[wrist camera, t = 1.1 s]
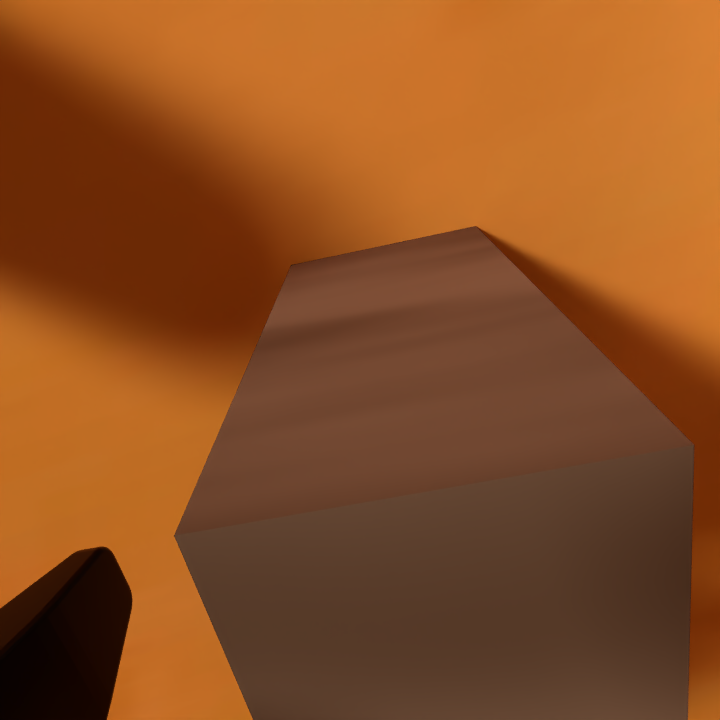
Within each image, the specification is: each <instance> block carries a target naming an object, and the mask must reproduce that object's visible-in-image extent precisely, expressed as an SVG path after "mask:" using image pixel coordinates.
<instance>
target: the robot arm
mask: <svg viewBox="0 0 720 720" xmlns="http://www.w3.org/2000/svg"><path fill="white" fill-rule="evenodd" d="M131 609H132V594H131V590H130V587H129V585H128V583H127V581H126V579H125V577H124V575H123V573H122V571H121V568H120V566H119V564H118V562H117V560H116V558H115V556H114V554H113V553H112V551H111V550H110V549H108V548H107V547H96V548H90V549H84V550H80V551H77V552H75V553H73V554H72V555H70V556H69V557H68V558H66V559H65V560H64V561H63V562H61V563H60V564H59V565H57V566H56V567H55V568H53V569H52V570H51V571H49V572H48V573H47V574H45V575H44V576H43V577H41V578H40V579H39V580H37V581H36V582H35V583H33V584H32V585H31V586H29V587H28V588H27V589H25V590H24V591H23V592H22V593H20V594H19V595H18V596H16V597H15V598H14V599H12V600H11V601H10V602H8V603H7V604H6V605H4V606H3V607H2V608H0V720H107V716H108V712H109V708H110V704H111V700H112V696H113V691H114V687H115V682H116V678H117V673H118V669H119V664H120V660H121V655H122V650H123V646H124V641H125V637H126V632H127V628H128V623H129V619H130V614H131Z"/></svg>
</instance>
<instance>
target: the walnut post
mask: <svg viewBox="0 0 720 720" xmlns="http://www.w3.org/2000/svg"><path fill="white" fill-rule="evenodd" d="M693 477H694V444H693V443H692V442H691V441H690V440H689V439H688V438H687V437H686V436H685V435H684V434H683V433H682V432H681V431H680V430H679V429H678V428H677V427H676V426H675V425H674V424H673V423H672V422H671V421H670V420H669V419H668V418H667V417H666V416H665V415H664V414H663V413H662V412H661V411H660V410H659V409H658V408H657V407H656V406H655V405H654V404H653V403H652V402H651V401H650V400H649V399H648V398H647V397H646V396H645V395H644V394H643V393H642V392H641V391H640V390H639V389H638V388H637V387H636V386H635V385H634V384H633V383H632V382H631V381H630V380H629V379H628V378H627V377H626V376H625V375H624V374H623V373H622V372H621V371H620V370H619V369H618V368H617V367H616V366H615V365H614V364H613V363H612V362H611V361H610V360H609V359H608V358H607V357H606V356H605V355H604V354H603V353H602V352H601V351H600V350H599V349H598V348H597V347H596V346H595V345H594V344H593V343H592V342H591V341H590V340H589V339H588V338H587V337H586V336H585V335H584V334H583V333H582V332H581V331H580V330H579V329H578V328H577V327H576V326H575V325H574V324H573V323H572V322H571V321H570V320H569V319H568V318H567V317H566V316H565V315H564V314H563V313H562V312H561V311H560V310H559V309H558V308H557V307H556V306H555V305H554V304H553V303H552V302H551V301H550V300H549V299H548V298H547V297H546V296H545V295H544V294H543V293H542V292H541V291H540V290H539V289H538V288H537V287H536V286H535V285H534V284H533V283H532V282H531V281H530V280H529V279H528V278H527V277H526V276H525V275H524V274H523V273H522V272H521V271H520V270H519V269H518V268H517V267H516V266H515V265H514V264H513V263H512V262H511V261H510V260H509V259H508V258H507V257H506V256H505V255H504V254H503V253H502V252H501V251H500V250H499V249H498V248H497V247H496V246H495V245H494V244H493V243H492V242H491V241H490V240H489V239H488V238H487V237H486V236H485V235H484V234H483V233H482V232H481V231H480V230H479V229H478V228H477V227H476V226H475V227H470V228H465V229H460V230H456V231H451V232H446V233H441V234H437V235H432V236H427V237H422V238H418V239H413V240H408V241H403V242H399V243H394V244H389V245H384V246H380V247H375V248H370V249H365V250H361V251H356V252H351V253H346V254H342V255H337V256H332V257H327V258H323V259H318V260H313V261H309V262H304V263H299V264H294V265H291V267H290V269H289V271H288V274H287V276H286V278H285V281H284V283H283V285H282V288H281V290H280V292H279V295H278V297H277V299H276V302H275V304H274V306H273V308H272V311H271V313H270V315H269V318H268V320H267V322H266V325H265V327H264V329H263V332H262V334H261V336H260V338H259V341H258V343H257V345H256V348H255V350H254V352H253V355H252V357H251V359H250V362H249V364H248V366H247V369H246V371H245V373H244V375H243V378H242V380H241V382H240V385H239V387H238V389H237V392H236V394H235V396H234V399H233V401H232V403H231V406H230V408H229V410H228V412H227V415H226V417H225V419H224V422H223V424H222V426H221V429H220V431H219V433H218V436H217V438H216V440H215V442H214V445H213V447H212V449H211V452H210V454H209V456H208V459H207V461H206V463H205V466H204V468H203V470H202V473H201V475H200V477H199V479H198V482H197V484H196V486H195V489H194V491H193V493H192V496H191V498H190V500H189V503H188V505H187V507H186V510H185V512H184V514H183V516H182V519H181V521H180V523H179V526H178V528H177V530H176V533H175V535H174V536H175V539H176V541H177V543H178V546H179V548H180V550H181V553H182V555H183V557H184V560H185V562H186V564H187V567H188V569H189V571H190V574H191V576H192V578H193V581H194V583H195V585H196V588H197V590H198V592H199V595H200V597H201V599H202V601H203V604H204V606H205V608H206V611H207V613H208V615H209V618H210V620H211V622H212V625H213V627H214V629H215V632H216V634H217V636H218V639H219V641H220V643H221V646H222V648H223V650H224V653H225V655H226V657H227V660H228V662H229V664H230V667H231V669H232V671H233V674H234V676H235V678H236V681H237V683H238V685H239V688H240V690H241V692H242V695H243V697H244V699H245V702H246V704H247V706H248V709H249V711H250V713H251V716H252V718H253V720H688V686H689V644H690V602H691V560H692V519H693Z"/></svg>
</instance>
